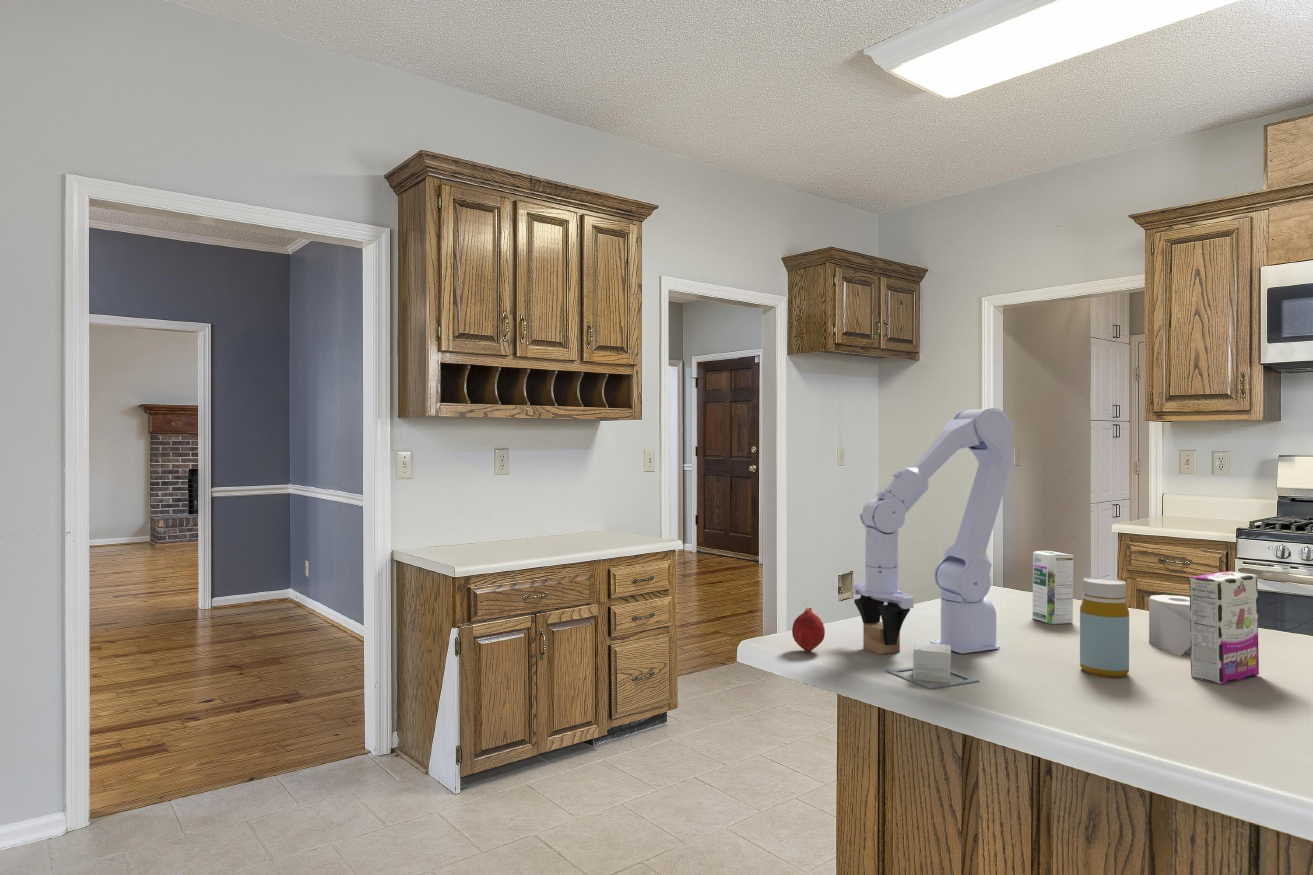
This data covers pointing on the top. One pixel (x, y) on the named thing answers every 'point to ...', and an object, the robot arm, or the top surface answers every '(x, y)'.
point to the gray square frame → (969, 680)
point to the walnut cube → (877, 639)
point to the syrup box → (1052, 587)
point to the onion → (808, 630)
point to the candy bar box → (1224, 627)
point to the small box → (932, 662)
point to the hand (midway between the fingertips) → (881, 640)
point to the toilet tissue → (1170, 623)
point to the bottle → (1104, 628)
